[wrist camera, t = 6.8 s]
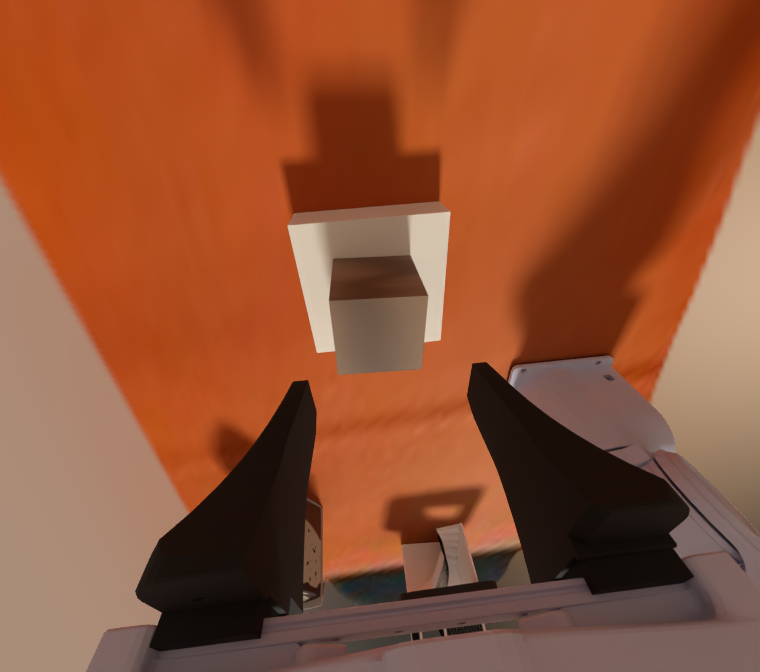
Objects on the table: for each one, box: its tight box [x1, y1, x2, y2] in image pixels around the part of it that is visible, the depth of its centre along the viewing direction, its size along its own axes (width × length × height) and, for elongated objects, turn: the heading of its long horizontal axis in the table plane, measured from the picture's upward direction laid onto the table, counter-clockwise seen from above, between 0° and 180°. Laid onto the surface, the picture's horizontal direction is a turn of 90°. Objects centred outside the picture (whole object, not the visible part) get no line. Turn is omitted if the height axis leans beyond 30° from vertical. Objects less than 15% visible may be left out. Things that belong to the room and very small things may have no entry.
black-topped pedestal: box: [398, 523, 497, 641], centre depth 44 cm, size 28×26×13 cm
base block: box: [287, 201, 450, 353], centre depth 21 cm, size 9×9×3 cm
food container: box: [303, 498, 326, 610], centre depth 35 cm, size 12×6×10 cm, turn 31°
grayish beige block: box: [329, 255, 428, 375], centre depth 17 cm, size 5×5×5 cm
